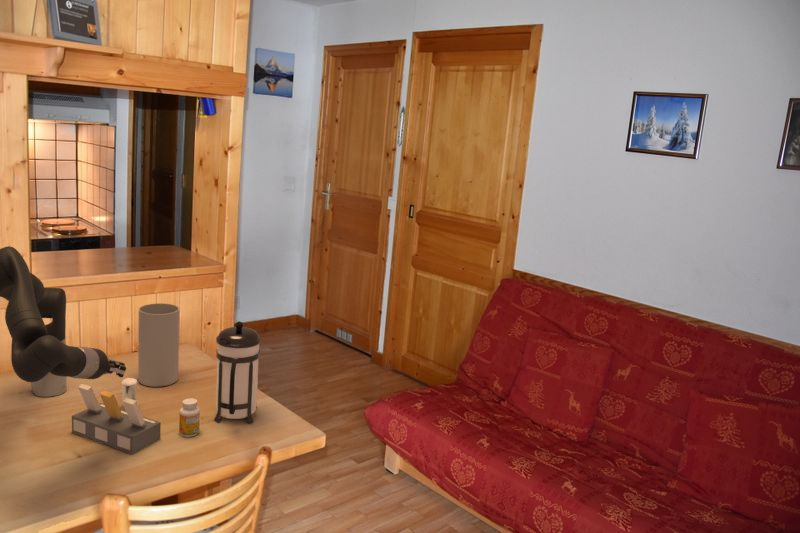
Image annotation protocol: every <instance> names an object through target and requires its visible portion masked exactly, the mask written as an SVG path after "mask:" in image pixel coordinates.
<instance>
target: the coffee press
mask: <svg viewBox="0 0 800 533" xmlns="http://www.w3.org/2000/svg"><path fill="white" fill-rule="evenodd" d="M215 338H216V339H215V342H216V343H217V349H216V355H215V356H216V381H215V382H216V383H215V384H216V386H215V410H216V415H215V417H214V419H213V421H214V422H215V423H217V424H219V423H221V422H222V420H223V419H225V418H226V419H233V420H235V419H236V420H238V419H239V420H240V419H244V420H245V422H246V423H247V424H248V425H250V424H253V423H254V418H253V414H255V412H256V409H257V408H258V406H257V403H258V402H257V401H258V380H259V379H258V377H259V358H260V344H261V342H262V340H261V337H260V335H259V333H258V332H257V330H255V329H253V328H250V327H248V326H247V327H246V326H244V324H243V322H242V321H236V323H235V324H234V326H231V327H226V328H224V329H222V330H221V331H219V334H218V335H217V336H216V337H215Z"/></svg>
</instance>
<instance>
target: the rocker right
mask: <svg viewBox="0 0 800 533" xmlns="http://www.w3.org/2000/svg"><path fill="white" fill-rule="evenodd" d="M123 404H124V407H125V409H124V410H125V411H126V412H127V414H128V417H129V419H130V421H131V424H134V425H137V426H140V427H143V428H145V427H146V424H144V423H145V422H144V419H143V417H144V416H143V414H142V412H141V409H140V406H139V404H138V401H137V400H136V401H135V400H132V399H129V398H125V399H124V400H123V399H122V405H123ZM124 407H123V408H124Z"/></svg>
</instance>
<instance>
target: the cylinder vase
mask: <svg viewBox="0 0 800 533" xmlns="http://www.w3.org/2000/svg"><path fill="white" fill-rule="evenodd" d="M179 345H180V306H177V305H175V304H171V303H163V302H162V303H161V302H160V303H157V302H156V303H148V304H145V305H144V304H143V305H141V306H140V307H138V368H137V370H138V372H137V373H138V378H139V379H138V378H137V379H138V382H139V383H140V384H141V385H142V386H146V387H149V388H150V387H151V388H160V387H161V388H163V387H168V386H170V385H173V384H174V383H176V382H177V381H178V380H179V365H180V364H179V360H180V359H179V358H180V356H179V350H180V346H179Z"/></svg>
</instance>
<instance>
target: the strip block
mask: <svg viewBox="0 0 800 533" xmlns="http://www.w3.org/2000/svg"><path fill="white" fill-rule="evenodd" d="M99 405H100V407H101V408H100V409H101V410H102V412H101V413H98V412H95V411H92V410H89V409H88V408H86V409H85V410H82V411H80V412H77V413H75V414H73V415H71V433H73V434H74V435H78V436H80V437H84V438H86V439H89V440H92V441H95V442H98V443H100V444H103V445H106V446H108V447H112V448H114V449H117V450H120V451H123V452H126V453H128V454H131V455H135V454H136V453H138V452H139V451H141V450H144V449H145V448H147V447H148V446H150V445H152V444H154V443H155V442H158V441H159V440H161V426H162V424H161V422H160V421H158V420H155V419H151V418H149V417H145V416H143V419H144V422H145V423H144V424H146V427H145V428H143V427H140V426H137V425H134V424H131V421H130V419H129V417H128V414H127V412H126V410H125V409H121V408H120V410H121V413H122V416H123V417H124V419H123V420H119V419H116V418H113V417H110V416H109V414H108V412H107V410H106V407H105V405H104V403H103V402H100V403H99Z"/></svg>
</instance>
